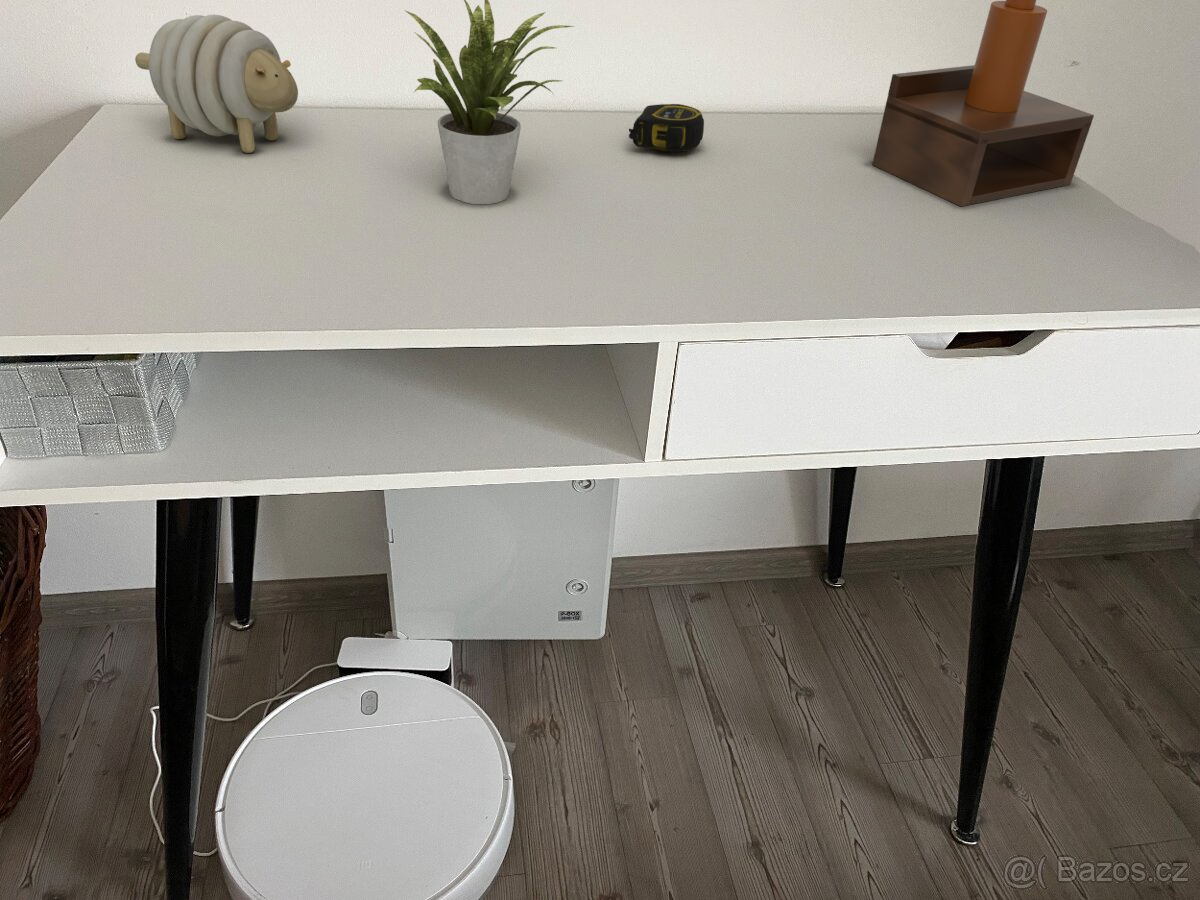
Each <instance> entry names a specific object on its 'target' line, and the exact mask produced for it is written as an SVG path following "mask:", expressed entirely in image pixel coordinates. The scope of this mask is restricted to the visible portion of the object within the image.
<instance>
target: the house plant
mask: <svg viewBox="0 0 1200 900" xmlns="http://www.w3.org/2000/svg"><path fill="white" fill-rule="evenodd" d="M463 2H464V4H465V7H466V11H467V13H468V16H469V17H468V18H469V23H470V27H469V34H468V35H469V36H468V42H467V44H464V45H463V46H462V47H461V49H460V51H459V57H458V62H459V64H458V65H459V67H460V71H461V74H460V73H459V70H458V69H457V65H456V64H455V62H454V59H453V57H452V55H451V53H450V51H449V50H448V48H447V46H446V44H445V42H444V41H443V40H442V38H441V37H440V35H439V34H438V32H436V31H435V30H434V29H433V27H431V25H429V24H428V23H427V22H425V21H424V20H423V19H422V17H419V16H418V15H417V14H416V13H412V12H410V11H407V10H405V12H406V13H407V14H408V15H410V16H411V17H412V18H413V19H414V20H415V21H416V22H417V23H418V24H419V26H420V28H422V30H423V31H424V33H425V34H426V36H427V37H428V38H429V40H430V42H431V44H432V45H433V46H432V45H431V44H430V43H429V41H428V40H427V39H425V38H424V37H423V36H421V35H420V34H418V33H417V32H415V34H416V36H417V37H418V38H419V39H420V40H422V41H423V42H424V43H425V44H426V45H427V46H428V47H429V48H430V50H431V51H432V52H433V54H434V55H435V56H436V57H437V58H438V60H439V61H440V62H441V63H442V64H443V66H444V68H445V69H446V71H447V72H448V74H449V76H450V78H451V81H452V83H453V84H454V86H455V88H456V90H457V92H458V94H459V95H460V97H461V99H462V101H463V103H464V106H465V108H464V106H463V104H462V101H461V99H460V97H459V95H458V94H457V92H456V90H455V89H454V87H453V86H452V85H451V82H450V80H449V78H448V77H447V76H446V74H445V71H443V68H442V67H441V64H440V63H439V61H438V60H436V59H435V58H432V61H433V66H434V73H435V76H436V78H437V80H438V81H437V80H436V79H433V78H429V77H422V78H421V77H420V78H417V79H416V81H418V82H419V83H420V84H419V85H418V86H417V87H416V88H415V90H414V92H412V93H415V92H417V91H432V92H433V93H434V94H436V95H437V96H438V97H439V98H440V99H442V100H443V102H444V103H445V105H446V106H447V108H448V109H449V111H450V113H447V114H444V115H442V116H440V117H439V119H438V120H437V128H438V134H439V141H440V144H441V145H440V146H441V151H442V157H443V162H444V167H445V173H446V178H447V184H448V190H449V194H450V196H451V197H452V198H453V199H455V200H457V201H459V202H463V203H465V204H473V205H491V204H493V205H494V204H497V203H500V202H503V201H504V200H506V199H508V197H509V195H510V189H511V185H512V184H511V183H512V178H513V174H514V173H513V172H514V167H515V162H516V157H517V150H518V145H519V141H520V140H519V139H520V134H521V128H522V125H521V122H520V120H518V119H517V118H515V117H513V116H511V115H509V113H510V112H511V111H512V110H513V109H514V108H515V107H516V106H517V105H518V104H519V103H521V101H523V99H525V98H526V97H527V96H528V95H530V94H531V93H532V92H533V91H534V90H537V89H538V88H539V87H542V88H544V89H546V90H548V91H549V92H551V93H552V94H553V96H555V95H554V93H553V91H552V90H551V89H550V88H548V87H547V86H546V84H547V83H555V82H556V83H557V82H562V80H559V79H548V80H547V79H546V80H544V81H541V82H539V81H535V80H524V81H523V80H522V81H518V82H516V83H514V84H512V85H511V86H509V85H510V84H511V82H513V81H514V80H515V79H516V78H518V74H517V73H516V72H517V71H518V69H519V67H521V65H522V64H523V63H524V62H525V61H526V60H527V59H528V58H529V57H531V56H532V55H533V54H534V53H537V52H539V51H541V50H550V49H553V50H554V49H556V47H554V46H548V45H547V46H545V45H544V46H539V47H537V48H534V49H532V50H531V51H530V52H528V53H527V54H526V55H525V56H524V57H521V58H517V56H518V55H519V54H520V53H521V51H522V50H523V49H524V48H525V47H526V46H527V45H528V44H529V43H530V42H531V41H533V40H534V39H535V38H537V37H538V36H540V35H542V34H543V33H544V34H545V33H546V32H548V31H550V30H554V29H563V28H564V29H565V28H574V27H576V26H575V25H564V24H563V25H561V24H558V25H550V26H545V27H543V28H541V29H538V30H536V31H535V32H533V33H531V31H533V30H535V29H537V28H538V26H533V24H534V23H535V21H537V20H538V19H540V18H541V17H543V16H544V14H545V13H546V12H542V13H538V14H535V15H533V16H531V17H529V18H527V19H526V20H524V21H523V22H522V23H521V24H520V25H519V26H518V27H517V29H515V31H514V32H513V33H512V35H511V36H510V37H507V38H504V39H499V40H496V41H495V19H494V15H493V10H492V7H491V3H490V1H489V0H484V3H483V5H484V6H483V7H484V8H483V9H484V12H483V9H482V8H481V6H480V4H478V5H477V6H476V7H475V8H474V10H473V12H472V9H471V7H470V4H469V2H468V1H467V0H463ZM529 33H531V35H530V36H528V35H529ZM527 36H528V37H527ZM526 37H527V38H526ZM525 38H526V39H525ZM516 58H517V59H516ZM516 65H517V66H516ZM512 71H513V72H512ZM508 86H509V88H507V87H508ZM526 86H533V87H532V88H531V89H529V90H528V91H527V92H526V93H524V94H523V95H522V96H521V97H520V98H519V99H518V100H517V101H515V103H514V104H513V105H512V106H511V107H510V108H509V109H508V110H507V111H506V112H505V113H502V112H503V111H504V110H503V109H504V108H505V107H506V106H508V105H510V103H513V101H514V96H512V95H511V94H512V93H514V92H515V91H516V90H518V89H521V88H522V87H526ZM499 108H500V109H499ZM500 110H501V112H499V111H500Z"/></svg>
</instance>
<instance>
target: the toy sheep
mask: <svg viewBox="0 0 1200 900" xmlns="http://www.w3.org/2000/svg"><path fill="white" fill-rule="evenodd" d="M134 61H135V64H136V66H137V67H138V68H139V69H142V70H147V71H148V72H149V76H150V77H149V78H150V80H151V84H152V87H153V89H154V91H155V92H156V95H157V96H158V97H159V99H160V100H161V101H162V102H163V103H164V104H165V106H167V111H168V119H169V124H170V130H171V131H170V132H171V135H172V137H173V138H174V139H176V140H183V139H185V138H186V136H187V130H186V126H188V127H190V128H192V129H194V130H199V131H201V132H202V133H205V134H207V135H210V136H212V137H224V136H225V137H226V136H228V135H236V136H238V138H239V144H240V149H241V151H242V152H243V153H245V154H246V153H247V154H251V153H253V152H254V151H255V149H256V143H255V137H254V130H253V129H254V127H255V126H256V125H257V124H261V123H263V124H262V125H263V133H264V138H265V139H266V140H268V141H271V142H272V141H276V140H277V139H278V138H279V130H278V121H277V113H285V112H287V111H289V110H291V109H292V108H293V107H294V106H295V105H296V103H297V101H298V96H299V89H298V85H297V82H296V80H295V78H294V76H293V75H292V73H291V71H290V70H289V68H290V67H291V65H292V64H291V61H290V60H288V59H286V60H284V61H283V62H282V60H281V57H280V54H279V52H278V50H277V48H276V46H275V45H274V43H273V42H272V40H271V39H270V38H269V37H268V36H267V35H265V34H264V33H262V32H261V31H259V30H254V28H252V27H251V26H250V25H248V24H246V23H245V22H242V21H238V20H232V19H231V18H229V17H227V16H224V15H220V14H207V15H202V14H196V15H195V14H194V15H190V16H187V17H185V18H183V19H182V18H177V19H172V20H169V21H167V22H166V23H164V24H162V26H161V27H159V29H158V30H157V31H156V33H155V35H154V36H153V38H152V41H151V44H150V47H149V52H139V53H137V54H136V56H135V59H134Z"/></svg>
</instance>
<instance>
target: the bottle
mask: <svg viewBox="0 0 1200 900" xmlns="http://www.w3.org/2000/svg"><path fill="white" fill-rule="evenodd" d="M1047 14H1048V10H1047V8H1045V7H1043V6H1041V5H1038V4H1037V0H995V1H991V3H990V6H989V10H988V15H987V18H986V21H985V25H984V29H983V32H982V36H981V39H980V43H979V49H978V51H977V55H976V59H975V61H974V65H975V66H974V69H973V73H972V77H971V81H970V84H969V88H968V92H967V95H966V99H965V102H966V103H967V104H968V105H969V106H972V107H974V108H977V109H980V110H984V111H989V112H997V113H1011V112H1015V111H1017V110H1018V107H1019V104H1020V101H1021V97H1022V94H1023V91H1025V87H1026V85H1027V80H1028V77H1029V74H1030V71H1031V67H1032V65H1033V60H1034V57H1035V54H1036V51H1037V48H1038V44H1039V41H1040V37H1041V34H1042V31H1043V28H1044V24H1045V20H1046V18H1047Z"/></svg>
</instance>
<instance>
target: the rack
mask: <svg viewBox="0 0 1200 900" xmlns="http://www.w3.org/2000/svg"><path fill="white" fill-rule="evenodd" d="M974 66H975V64H971V65H965V66H962V65H961V66H953V67H946V68H937V69H929V70H928V69H927V70H926V69H925V70H918V71H909V72H908V71H907V72H900V73H892V75H891V79H890V83H889V88H888V93H887V97H886V98H887V99H886V102H885V106H884V110H883V115H882V119H881V123H880V129H879V133H878V137H877V142H876V146H875V151H874V154H873V159H872V163H871V164H872V166H874V167H876V168H878V169H881V170H882V171H885V172H886V173H889V174H891V175H893V176H894V177H895V176H896V177H898V178H900V179H901V180H904V181H906V182H908V183H910V184H912V185H915V186H917V187H918V188H920V189H923V190H925V191H927V192H929V193H931V194H933V195H935V196H938V197H939V198H941V199H944V200H946V201H948V202H950V203H953V204H955V205H957V206H959V207H965V206H969V205H974V204H975V205H976V204H981V203H984V202H985V203H986V202H989V201H995V200H999V199H1005V198H1009V197H1014V196H1015V197H1016V196H1021V195H1024V194H1025V195H1026V194H1030V193H1035V192H1040V191H1045V190H1050V189H1054V188H1060V187H1064V186H1069V185H1071V184H1072V181H1073V178H1074V175H1075V172H1076V170H1077V167H1078V164H1079V162H1080V158H1081V155H1082V152H1083V149H1084V146H1085V144H1086V141H1087V138H1088V135H1089V132H1090V129H1091V126H1092V123H1093V120H1094V116H1095V115H1094V114H1092V113H1089V112H1087V111H1083V110H1080V109H1077V108H1075V107H1072V106H1069V105H1066V104H1063V103H1061V102H1058V101H1055V100H1052V99H1049V98H1047V97H1043V96H1040V95H1037V94H1034V93H1032V92H1030V91H1026V90H1024V91H1023V94H1022V97H1021V101H1020V104H1019V107H1018V110H1017V111H1015V112H1011V113H997V112H989V111H984V110H980V109H977V108H974V107H972V106H969V105H968V104H967V103H966V102H965V99H966V95H967V92H968V88H969V84H970V81H971V77H972V73H973V69H974Z"/></svg>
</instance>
